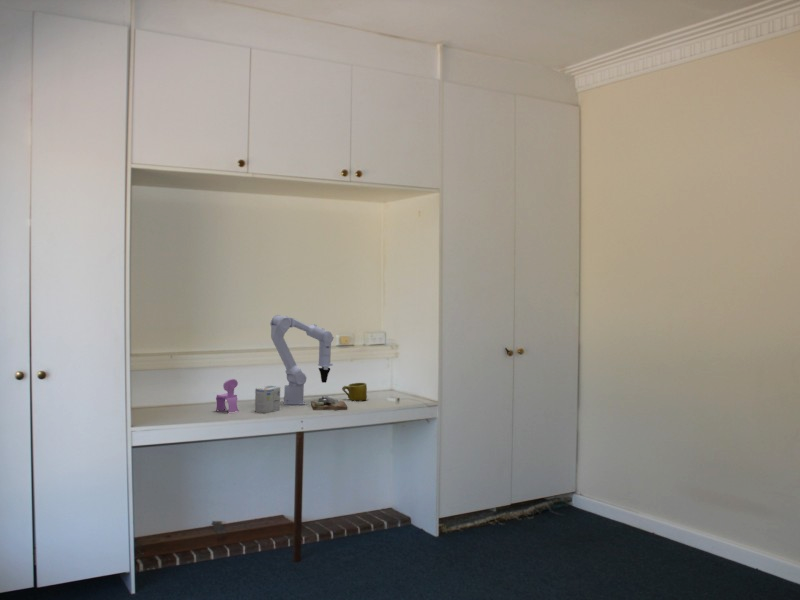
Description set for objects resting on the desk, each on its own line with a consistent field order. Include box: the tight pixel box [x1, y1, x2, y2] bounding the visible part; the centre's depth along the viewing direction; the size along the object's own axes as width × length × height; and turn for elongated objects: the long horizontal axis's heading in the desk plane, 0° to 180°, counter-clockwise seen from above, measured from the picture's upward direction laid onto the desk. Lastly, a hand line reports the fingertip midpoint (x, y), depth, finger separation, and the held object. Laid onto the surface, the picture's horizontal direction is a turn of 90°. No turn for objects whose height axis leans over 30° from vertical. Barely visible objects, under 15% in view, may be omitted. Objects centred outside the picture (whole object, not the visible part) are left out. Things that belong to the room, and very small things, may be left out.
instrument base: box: [310, 400, 348, 411], centre depth 360 cm, size 16×14×3 cm
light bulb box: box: [254, 385, 281, 414], centre depth 347 cm, size 11×7×11 cm, turn 152°
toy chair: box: [215, 378, 240, 414], centre depth 342 cm, size 8×9×15 cm
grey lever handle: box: [318, 395, 339, 405], centre depth 357 cm, size 13×6×3 cm, turn 39°
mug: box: [341, 382, 368, 402], centre depth 383 cm, size 12×10×10 cm
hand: (324, 382), depth 375 cm, fingers closed
